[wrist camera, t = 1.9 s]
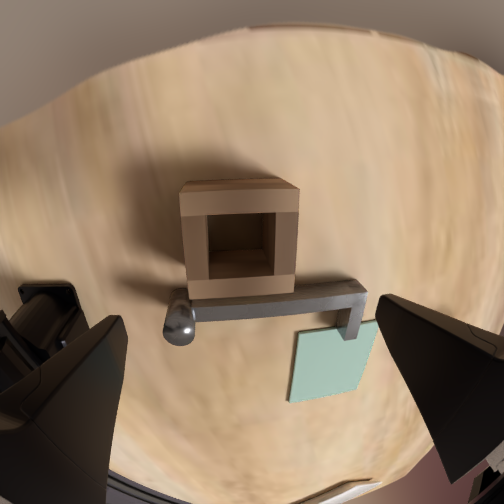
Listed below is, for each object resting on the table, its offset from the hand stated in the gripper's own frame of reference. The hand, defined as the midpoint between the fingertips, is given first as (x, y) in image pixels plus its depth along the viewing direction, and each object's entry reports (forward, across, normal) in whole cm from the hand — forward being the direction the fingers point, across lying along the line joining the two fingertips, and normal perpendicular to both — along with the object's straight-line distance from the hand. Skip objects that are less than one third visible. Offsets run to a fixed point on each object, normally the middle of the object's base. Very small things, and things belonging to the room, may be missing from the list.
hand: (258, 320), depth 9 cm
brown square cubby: (+10, 0, 0) cm, 10 cm away
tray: (+11, -21, +79) cm, 83 cm away
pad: (+10, -9, +14) cm, 20 cm away
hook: (+10, -2, +7) cm, 13 cm away
